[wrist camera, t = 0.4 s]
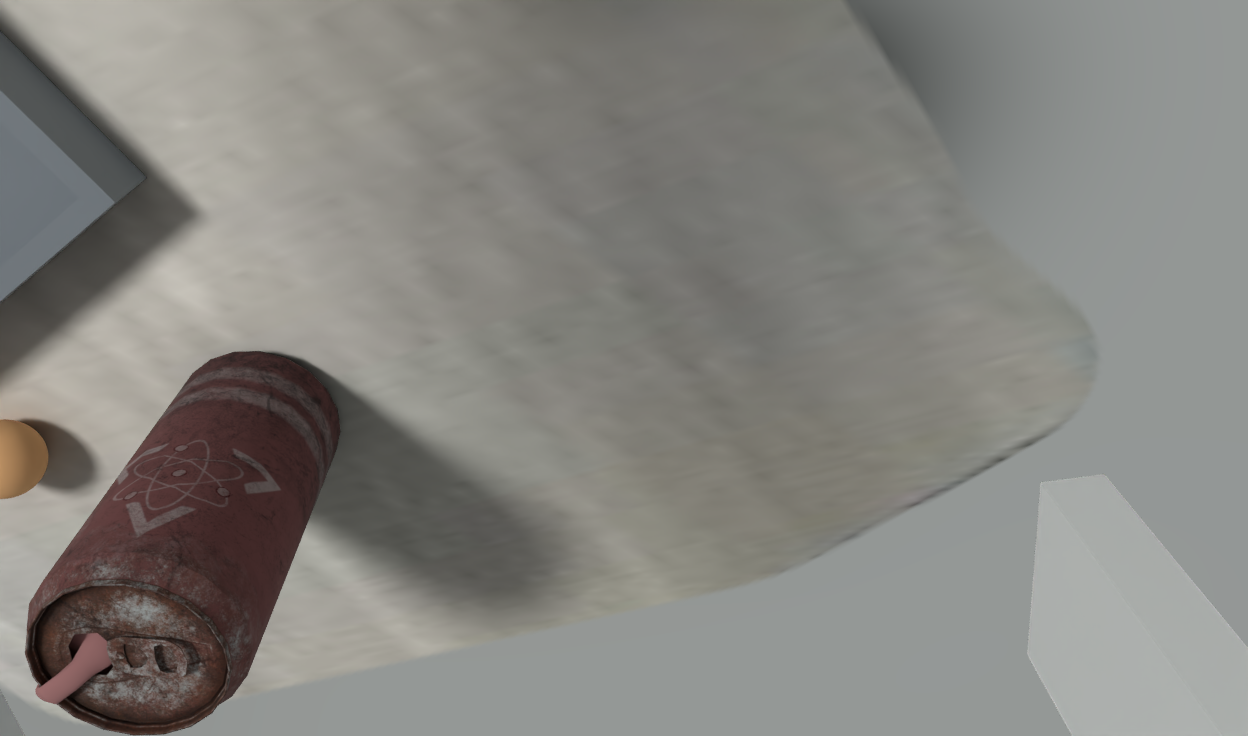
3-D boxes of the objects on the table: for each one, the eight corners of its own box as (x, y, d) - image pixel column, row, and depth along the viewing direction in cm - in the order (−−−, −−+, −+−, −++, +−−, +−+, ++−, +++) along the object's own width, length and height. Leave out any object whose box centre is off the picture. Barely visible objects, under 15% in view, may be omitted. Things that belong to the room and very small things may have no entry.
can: (145, 404, 41) (-47, 654, 28) (266, 315, 39) (121, 537, 27) (256, 508, 43) (125, 782, 31) (374, 429, 42) (287, 682, 29)
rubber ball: (-35, 433, 41) (-78, 474, 38) (15, 391, 40) (-25, 430, 38) (27, 484, 42) (-10, 528, 39) (78, 444, 41) (43, 486, 39)
